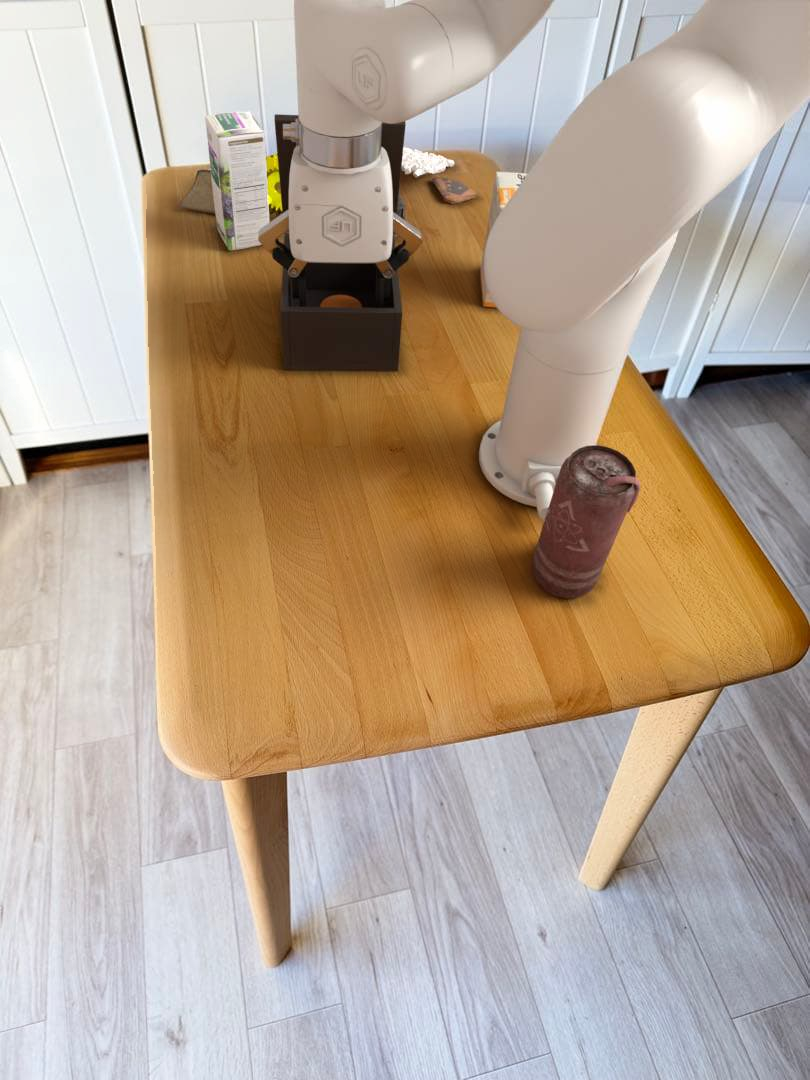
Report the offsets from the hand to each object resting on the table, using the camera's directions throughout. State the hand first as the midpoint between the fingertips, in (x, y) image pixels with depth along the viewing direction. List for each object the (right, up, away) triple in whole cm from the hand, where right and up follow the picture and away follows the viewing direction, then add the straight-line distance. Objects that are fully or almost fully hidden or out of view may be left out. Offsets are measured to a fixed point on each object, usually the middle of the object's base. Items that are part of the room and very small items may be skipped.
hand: (341, 302), depth 88 cm
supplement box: (+19, +6, +14) cm, 24 cm away
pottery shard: (+16, +25, +28) cm, 41 cm away
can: (+22, -29, -13) cm, 38 cm away
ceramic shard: (-18, +22, +21) cm, 35 cm away
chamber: (-1, -1, +7) cm, 7 cm away
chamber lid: (0, +12, -3) cm, 12 cm away
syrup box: (-14, +14, +18) cm, 26 cm away
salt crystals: (+2, +28, +26) cm, 38 cm away
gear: (-6, +23, +17) cm, 29 cm away
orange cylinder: (0, -3, +4) cm, 5 cm away
